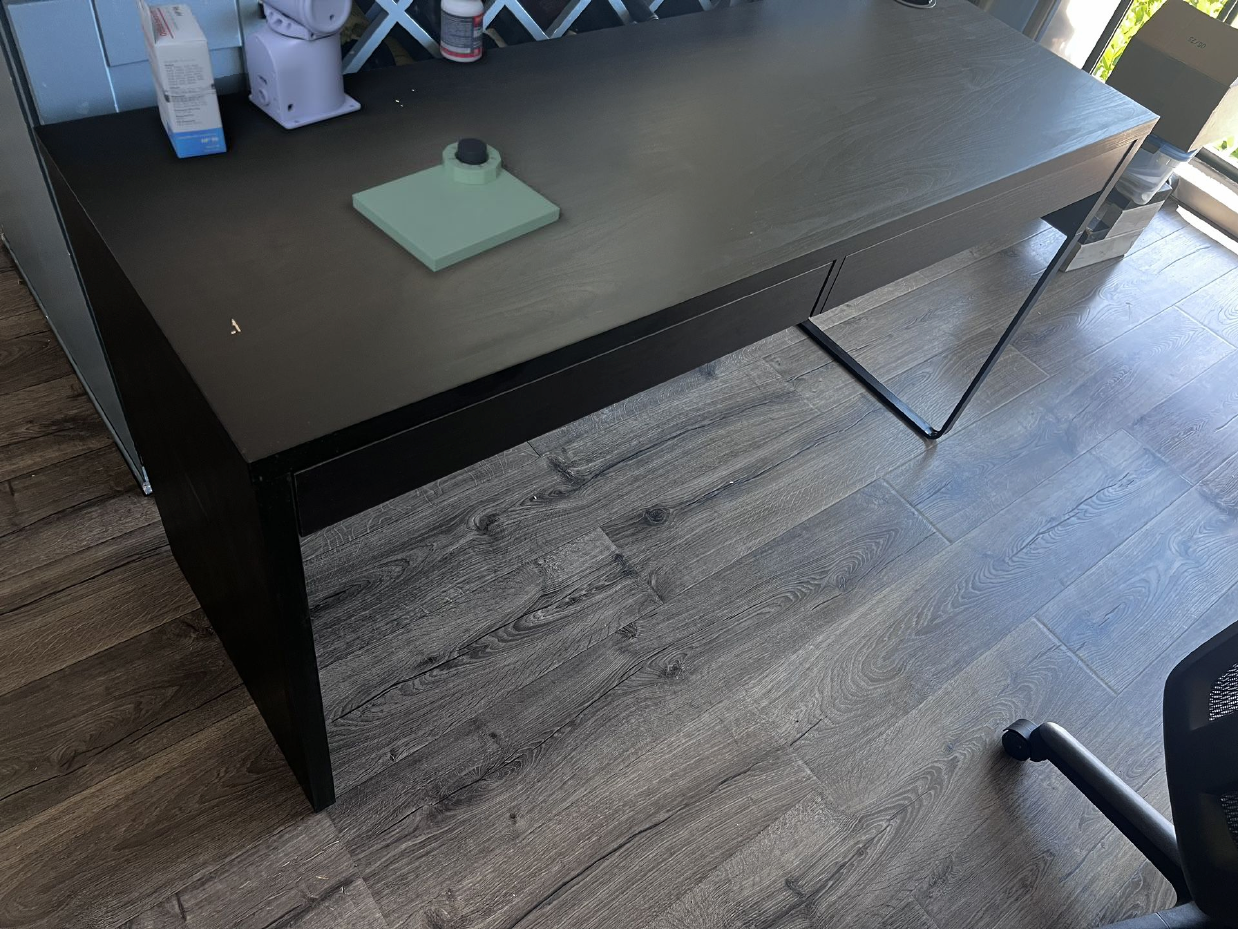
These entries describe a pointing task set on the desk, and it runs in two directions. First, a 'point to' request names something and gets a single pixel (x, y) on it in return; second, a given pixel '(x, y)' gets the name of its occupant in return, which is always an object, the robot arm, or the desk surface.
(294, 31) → the robot arm
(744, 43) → the desk surface
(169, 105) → the ink box
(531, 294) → the desk surface
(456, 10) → the pill bottle
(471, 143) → the button
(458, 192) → the green flat slab
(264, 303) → the desk surface
